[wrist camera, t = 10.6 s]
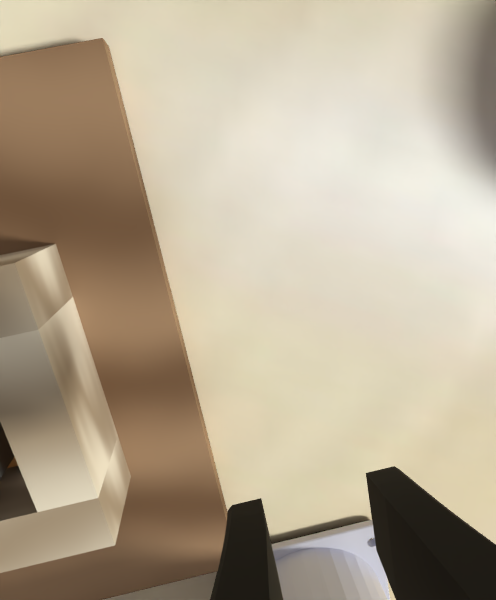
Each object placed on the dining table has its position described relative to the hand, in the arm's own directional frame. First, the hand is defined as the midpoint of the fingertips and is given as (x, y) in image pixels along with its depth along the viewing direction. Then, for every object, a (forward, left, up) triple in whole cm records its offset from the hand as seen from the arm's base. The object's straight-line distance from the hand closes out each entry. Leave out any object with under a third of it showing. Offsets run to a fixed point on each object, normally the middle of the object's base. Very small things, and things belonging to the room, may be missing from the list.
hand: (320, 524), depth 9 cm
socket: (+1, +11, -10) cm, 15 cm away
